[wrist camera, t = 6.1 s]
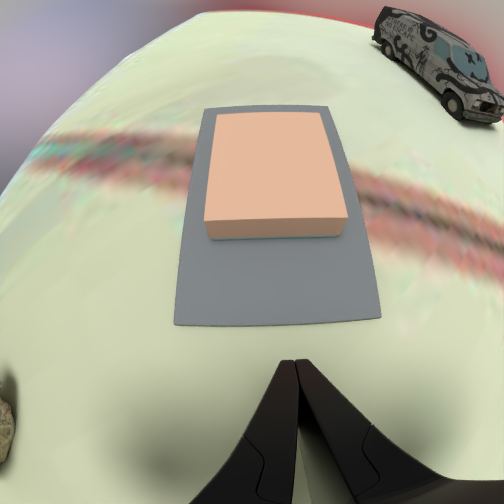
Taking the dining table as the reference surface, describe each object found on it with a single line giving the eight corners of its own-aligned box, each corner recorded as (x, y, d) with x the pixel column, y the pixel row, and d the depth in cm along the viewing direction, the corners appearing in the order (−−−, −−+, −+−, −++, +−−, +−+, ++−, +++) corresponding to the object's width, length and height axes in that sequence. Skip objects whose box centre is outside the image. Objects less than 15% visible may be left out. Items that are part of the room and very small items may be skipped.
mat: (379, 318, 14) (381, 317, 14) (175, 325, 15) (173, 324, 15) (327, 108, 23) (327, 106, 23) (204, 111, 24) (204, 108, 23)
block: (348, 217, 14) (319, 112, 19) (203, 220, 15) (217, 114, 19) (338, 238, 17) (315, 135, 21) (211, 241, 17) (220, 136, 21)
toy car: (461, 129, 23) (489, 69, 14) (367, 45, 34) (374, 0, 25) (497, 134, 24) (523, 86, 15) (409, 52, 35) (419, 12, 26)
